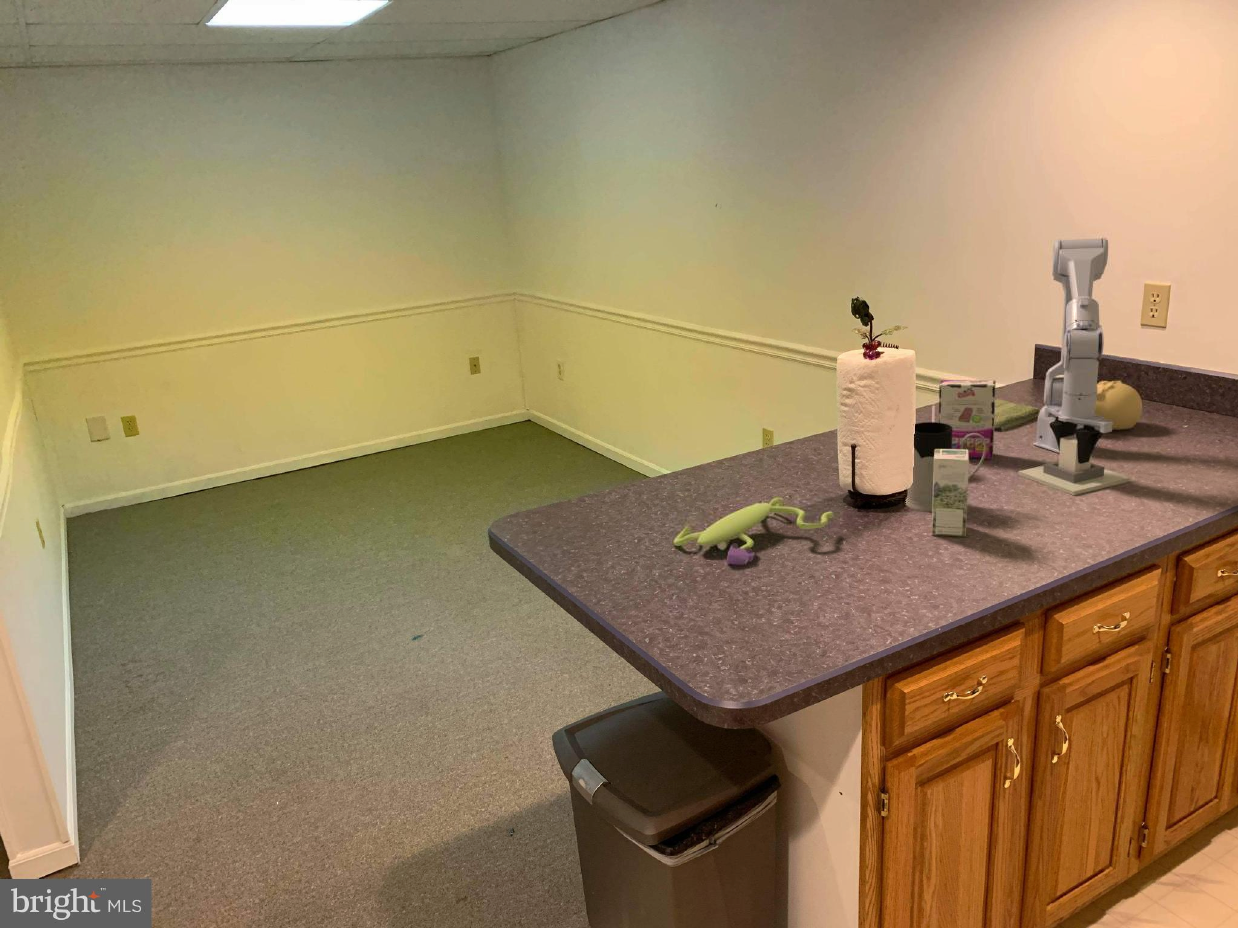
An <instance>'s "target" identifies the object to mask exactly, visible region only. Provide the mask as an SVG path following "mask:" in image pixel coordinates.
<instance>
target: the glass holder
mask: <svg viewBox="0 0 1238 928" xmlns="http://www.w3.org/2000/svg"><path fill="white" fill-rule="evenodd" d="M914 424H915V434H914V467H913V483H912V485H911V487H910V489H909V490H908V489H907V496H906V499H905V501H906V502H905V501H904V504H905V503H906V504H905V506H907V507H908V508H910V509H912V510H914V511H915V510H916V511H918V512H919V511H920V512H930V513H932V505H933V472H934V452H935V449H952V426H950V425H948V424H944V423H939V422H936V421H934V422H932V421H929V422H928V421H925V422H918V423H917V422H916V423H914ZM973 435H975V436H979V437H981V438H982V439H983V441H984V452H983V456H982V459H980V461H979V463H978V464H977V466H976V467H975V469H974V470H973V471H971V473H969V476H968V480H969V479H970V478H971V477H972V476H974V475H975V474H976V473H977V472H978V471H979V469H980V468H981V466H982V464H983V463H984V461H985V459H984V458H985V455H986V447H987V446H986V440H985V439H984V437H983V436H981V435H980V434H977V433H971V434H968V435H967V436H965V437H964V438H963V440H962V442H961V449H962V450H963V445H964V442H965V440H966V439H967V438H968V437H970V436H973Z"/></svg>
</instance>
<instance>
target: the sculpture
mask: <svg viewBox="0 0 1238 928" xmlns="http://www.w3.org/2000/svg"><path fill="white" fill-rule="evenodd" d="M1142 413H1143V402H1142V398H1141V395H1140V394H1139V392H1137V390H1136V389H1135V388H1133V387H1132V386H1130V385H1129V384H1126V383H1123V382H1122V381H1121V380H1112V381H1108V380H1101V381H1099V382H1097V400H1096V404H1095V412H1094V414H1096V415H1098V416H1100V417H1102V418H1104V419H1106V420H1109V421H1112V422H1113V424H1112V431H1113V430H1117V431H1118V430H1119V431H1120V430H1127V429H1128V430H1129V429H1132V428H1133V427H1135V425H1137V423H1138V422H1139V420H1140V417H1141V416H1142Z"/></svg>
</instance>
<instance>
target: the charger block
mask: <svg viewBox="0 0 1238 928" xmlns="http://www.w3.org/2000/svg"><path fill="white" fill-rule="evenodd" d="M1092 455H1093V453H1092V454H1091V457H1090V460H1089V462H1087V463H1082V464H1080V463H1079V462H1078V444H1077V438H1076V435H1072V436H1068V437H1063V438H1060V452H1059V455H1058V461H1059V467H1060V468H1063V469H1066V470H1069V471H1072V472H1077V471H1081V470H1085V469H1090V467H1091V463H1092Z"/></svg>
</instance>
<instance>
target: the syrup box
mask: <svg viewBox="0 0 1238 928" xmlns="http://www.w3.org/2000/svg"><path fill="white" fill-rule="evenodd" d="M969 470H970V459H969V451H968V450H962V449H935V452H934V472H933V505H932V512H931V513H932V515H931V535H932V536H944V537H945V536H946V537H960V538H961V537H962V538H963V537H966V536H967V516H968V515H967V514H968V495H969V494H968V491H969V479H968V476H969V474H970V473H969V472H970V471H969Z"/></svg>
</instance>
